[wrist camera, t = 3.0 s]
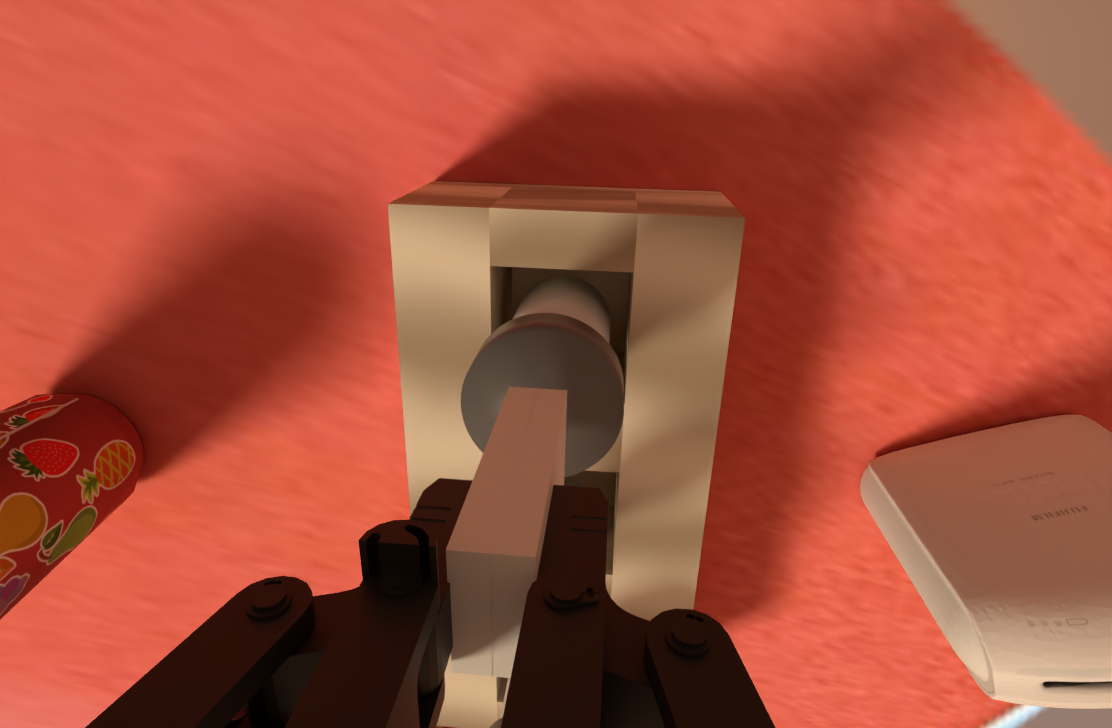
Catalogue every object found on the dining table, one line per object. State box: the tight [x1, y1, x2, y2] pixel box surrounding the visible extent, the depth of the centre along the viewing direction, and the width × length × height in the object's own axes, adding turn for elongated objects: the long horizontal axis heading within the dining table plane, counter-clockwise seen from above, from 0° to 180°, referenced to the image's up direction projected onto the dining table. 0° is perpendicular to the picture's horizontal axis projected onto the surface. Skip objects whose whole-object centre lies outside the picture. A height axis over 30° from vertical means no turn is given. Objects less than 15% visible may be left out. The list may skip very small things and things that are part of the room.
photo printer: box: [860, 415, 1112, 709], centre depth 25 cm, size 10×4×12 cm, turn 108°
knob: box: [461, 275, 624, 477], centre depth 22 cm, size 5×5×8 cm
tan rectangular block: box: [388, 181, 745, 728], centre depth 30 cm, size 25×12×6 cm, turn 179°
